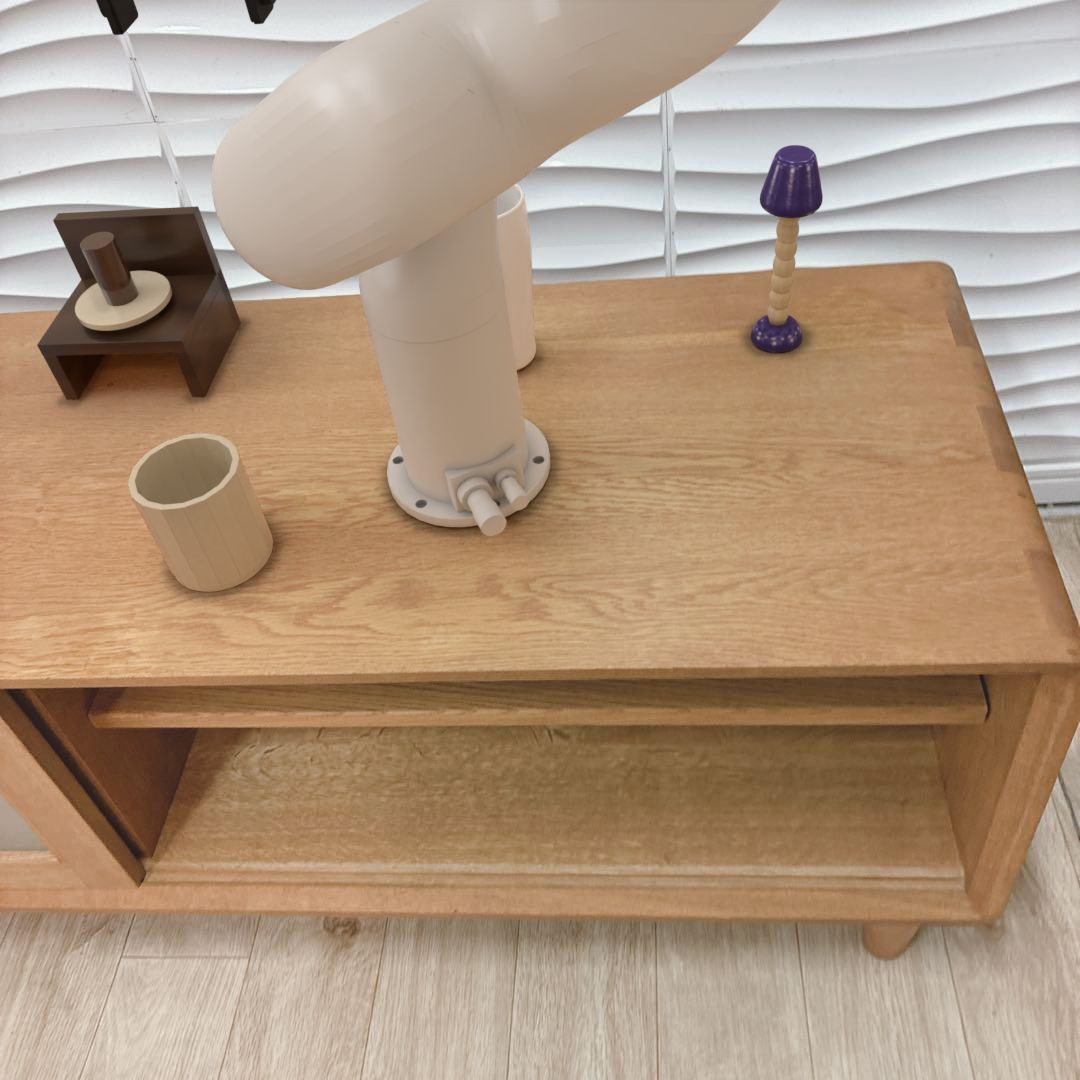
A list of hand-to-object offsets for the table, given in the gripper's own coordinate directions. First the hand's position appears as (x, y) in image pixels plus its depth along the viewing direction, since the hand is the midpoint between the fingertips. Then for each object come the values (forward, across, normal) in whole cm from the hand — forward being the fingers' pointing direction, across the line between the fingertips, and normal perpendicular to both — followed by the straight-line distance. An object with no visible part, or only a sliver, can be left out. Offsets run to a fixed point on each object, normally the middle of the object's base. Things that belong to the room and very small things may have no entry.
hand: (194, 21), depth 72 cm
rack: (+30, -16, +4) cm, 34 cm away
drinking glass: (+31, +17, +2) cm, 35 cm away
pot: (+30, -2, -20) cm, 37 cm away
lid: (+24, -16, +3) cm, 29 cm away
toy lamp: (+31, +40, +4) cm, 51 cm away
